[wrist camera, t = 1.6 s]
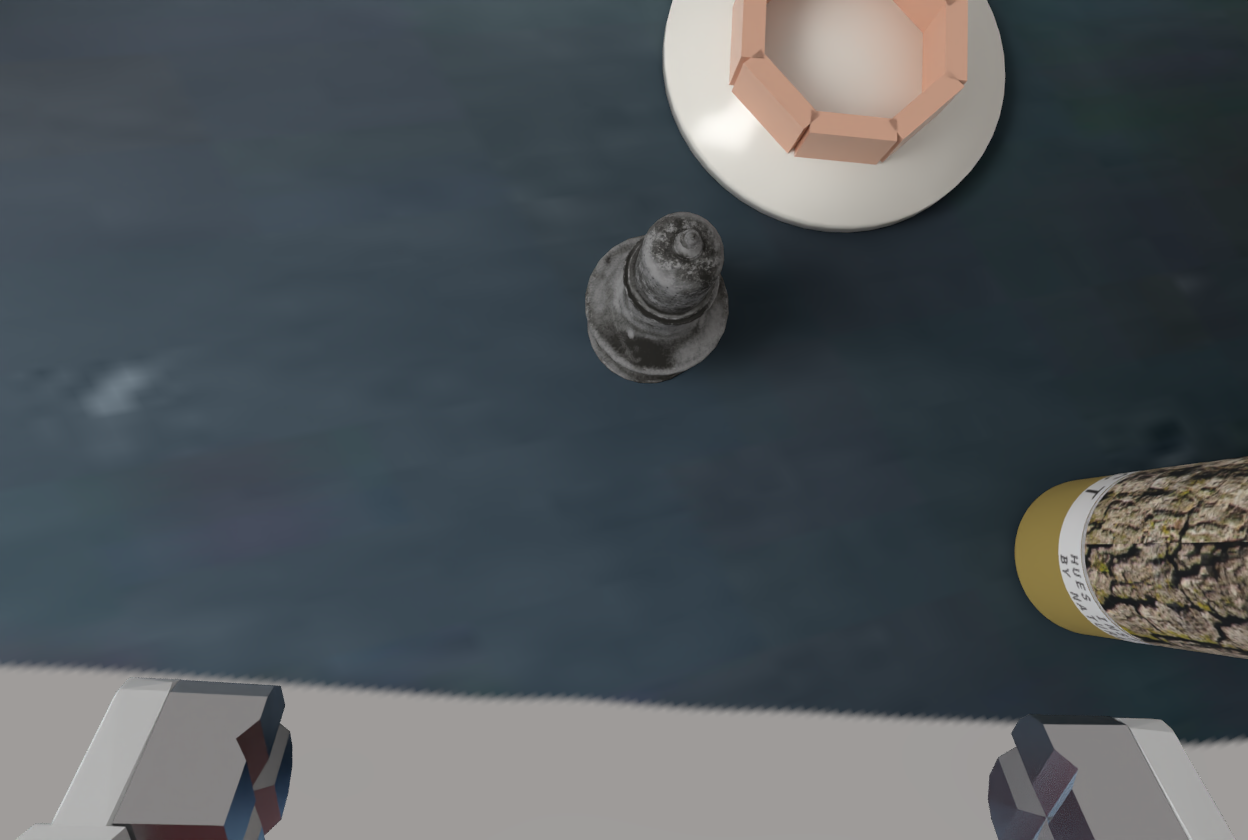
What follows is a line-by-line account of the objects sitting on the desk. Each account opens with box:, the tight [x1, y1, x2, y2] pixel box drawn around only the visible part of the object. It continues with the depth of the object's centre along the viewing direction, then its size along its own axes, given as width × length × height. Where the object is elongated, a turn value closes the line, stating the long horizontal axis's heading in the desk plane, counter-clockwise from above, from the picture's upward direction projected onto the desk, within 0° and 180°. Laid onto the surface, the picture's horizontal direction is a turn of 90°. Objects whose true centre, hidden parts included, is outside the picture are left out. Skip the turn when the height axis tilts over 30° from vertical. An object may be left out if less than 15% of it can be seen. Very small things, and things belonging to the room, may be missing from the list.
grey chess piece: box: [585, 212, 729, 383], centre depth 36 cm, size 6×6×12 cm
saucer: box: [662, 0, 1005, 233], centre depth 43 cm, size 16×16×4 cm
